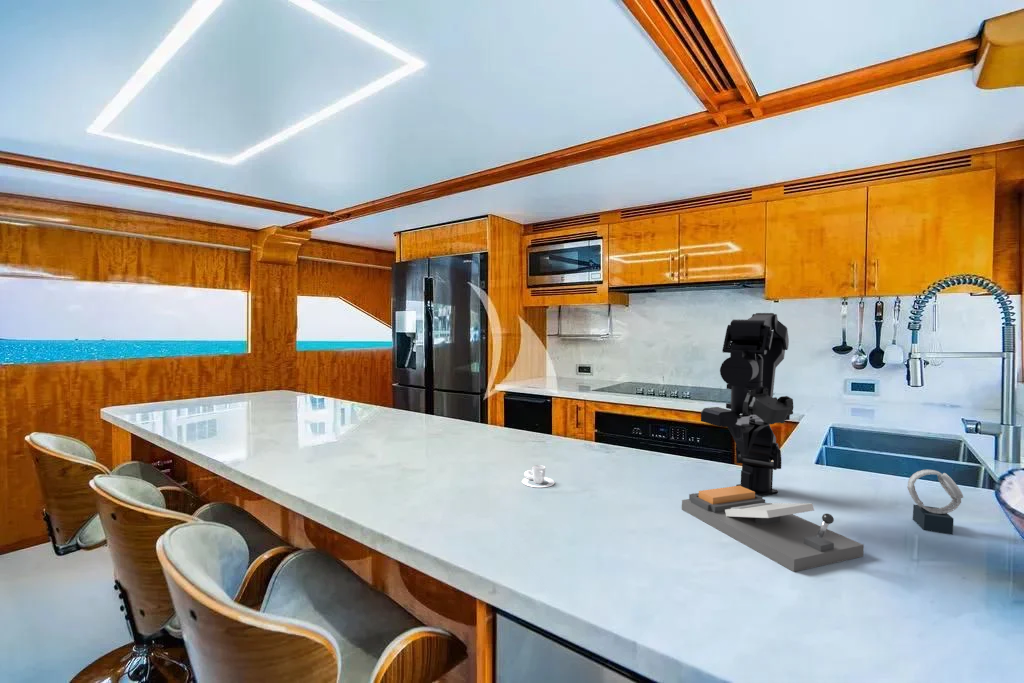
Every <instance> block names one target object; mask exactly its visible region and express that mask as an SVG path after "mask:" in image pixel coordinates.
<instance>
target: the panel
mask: <svg viewBox="0 0 1024 683" xmlns="http://www.w3.org/2000/svg"><path fill="white" fill-rule="evenodd" d="M759 503H766V499H765V498H763V496H762V495H761V496H758V495H756V494H755V498H754V499H747V500H740V501H733V502H726V503H720V504H711V503H709V502H707V501H705V500H703V499H701V498H699V492H695V493H689V494H688V498H686V499H682V500H681V510H682V511H683V512H685V513H687V514H689V515H691V516H693V517H695V518H696V519H698V520H700V521H702V522H703V523H706V524H707V525H709V526H711V527H713V528H715V529H716V530H719V531H720V532H721V533H723V534H725V535H727V536H728V537H730V538H733V540H736V541H738V542H740V543H741V544H743V545H745V546H747V547H748V548H750V549H751V550H754V551H756V552H757V553H759V554H761V555H763V556H765V557H766V558H768V559H770V560H772V561H774V562H775V563H777V564H779V565H780V566H782V567H784V568H786V569H787V570H790V571H792V572H793V573H794V572H795V573H796V572H800V571H803V570H804V571H805V570H808V569H813V568H818V567H822V566H826V565H830V564H835V563H839V562H844V561H849V560H853V559H857V558H862V557H864V545H865V544H864V543H863V544H862V543H861V542H859V541H856V540H853V539H851V538H849V537H847V536H844V535H841V534H839V533H837V532H835V531H832V530H830V529H828V528H827V530H826V532H825V534H824V536H823V537H822V538H819V537H818V536H817V533H818V530H819V528H820V526H821V525H819V524H816V523H814V522H812V521H809V520H807V519H804V518H803V517H800V516H797V514H790V515H784V516H778V517H772V518H756V517H732V516H726V513H725V510H726V509H731V508H732V507H739V506H745V505H752V504H759Z"/></svg>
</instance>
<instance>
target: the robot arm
mask: <svg viewBox="0 0 1024 683" xmlns="http://www.w3.org/2000/svg"><path fill="white" fill-rule="evenodd" d="M788 332H789V331H788V328H787V326H786V325H784V324H783V322H781V321H780V320H779V319H778V314H777V313H773V312H756V313H753V314H751V317H750V318H748V319H732V320H731V321H730V324H728V325H727V327H726V331H725V336H724V339H723V340H724V341H723V345H722V352H721V353H724V354H725V353H726V354H729V353H730V356H729V357H728V358H727V357H726V359H724V360H723V362H722V363H721V365H720V368H719V373H720V377H721V379H722V380H723V381H724V383H726V390H730V402H726V403H725V408H722V407H720V406H713V407H711V406H710V407H704V408H703V409H702V410H701V411H700V422H703V423H704V424H705V423H706V424H709V425H712V426H715V427H719V428H727V430H728V431H729V432H730V434H731V436H732V438H733V440H734V442H735V458H736V459H735V460H736V461H735V462H736V463H737V464H741V470H740V483H739V484H736V485H735V486H742V487H744V488H747V489H749V490H752V491H754V492H755V494H756V495H758V496H761V497H762V496H767V495H773V494H774V495H775V494H778V493H779V490H777V489H774V488H773V480H774V478H773V477H774V471H777V470H781V469H782V451H781V449H780V448H779V447H780V446H779V443H777V437H776V435H775V434H774V432H773V430H772V428H771V425H775V424H776V423H777V424H778V423H779V424H784V423H785V422H786V421H790V420H791V419H790V418H791V415H793V414H794V399H793V397H792V398H791V397H790V396H788V395H785V396H780V397H776V396H775V397H774V389H775V388H774V386H775V378H776V368H777V367H778V366H779V365H780V363H781V362H783V360H784V359H785V356H786V355H785V354H786V351H788V350H789V344H790V343H789V333H788Z"/></svg>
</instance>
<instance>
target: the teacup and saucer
mask: <svg viewBox="0 0 1024 683" xmlns="http://www.w3.org/2000/svg"><path fill="white" fill-rule="evenodd" d="M523 475H524V478H523V479H522V480H521V483H522V484H523V485H525V486H527V487H530V488H531V487H532V488H541V489H542V488H548V487H551V486H553V485H555V483H556V482H555V480H553V479H552V478H550V477H547V476H546V466H545V465H542V464H539V465H538V464H537V465H533V466H532V467H531V469H528V470H526V471H524V473H523ZM530 480H531V481H533V482H534V484H539V485H534V484H531V483H529V481H530ZM544 481H546V482H548V483H547V484H544V485H541V484H543V483H544Z"/></svg>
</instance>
